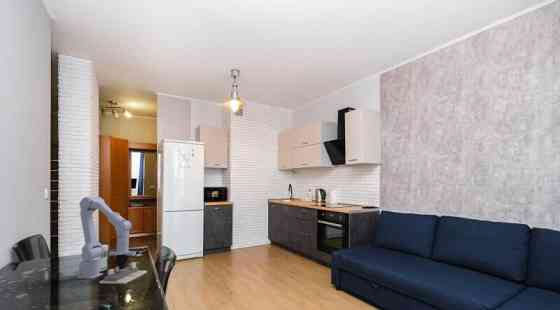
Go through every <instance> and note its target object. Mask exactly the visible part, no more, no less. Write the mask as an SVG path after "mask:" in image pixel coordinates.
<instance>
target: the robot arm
mask: <svg viewBox="0 0 560 310" xmlns="http://www.w3.org/2000/svg"><path fill="white" fill-rule="evenodd" d="M79 208H80V211H79V213H80V214H79V216H80V221H81V227H82V231H83V238H84V245H83V246H82V248H81V253H80V254H81V256H80V257H81V259H82V261H81V262H80V263H79V265H78V276H77V277H76V278H77V279H82V280H83V279H90V280H91V279H95V278H97V277H100V276H102V275H104V273H103V272H102V273H100V272H99V270H100V259H101V256H102V255H103V254H104V249H103V248H102V246H101V245H102V243H101V242H99V240H98V239H97V234H96V228H95V223H94V217H93V214H94V212H96V211H97V210H99V211H100V212H101V213H102V214H104V215H105V216H106V217H107V221H108V222H109V223H111V224H112V226H114V230H115V231H116V236H117V237H116V251H115V250H114V251H108V257H110V256H115V257H114V258H115V260H116V262H117V265H118V266H119V269H120V270H122V269H124V268H125V266H126V262H127V260H129V258H130V256H132V257H134V256H136V255H137V251H134V250H129V246H130V245H129V244H130V243H129V242H130V231H131V229H132V227H133V225H132V224H133V223H132V222H131V221H130V220H126V219H125V218H123V217H122V216H121V215H120V212H114V211H113V210H112V209H111V208H110V207H109V206H108V205H107V204H106V202H105V199H103V198H102V197H101V196H84V197H83V198H82V199H81V200H80V202H79Z"/></svg>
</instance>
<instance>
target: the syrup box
mask: <svg viewBox="0 0 560 310" xmlns="http://www.w3.org/2000/svg"><path fill="white" fill-rule="evenodd" d="M101 246H102V248H103V249H104V254H103V255H102V256H101V259H100V270H99V273H100V272H103V271H106V270H108V267H109V266H108V263H109V262H108V261H109V260H108V259H109V244H101Z"/></svg>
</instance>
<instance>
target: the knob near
mask: <svg viewBox="0 0 560 310" xmlns="http://www.w3.org/2000/svg"><path fill="white" fill-rule="evenodd" d="M115 271H116V268H110V269H107V276H108V275H112V274H114V273H115Z"/></svg>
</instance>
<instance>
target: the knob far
mask: <svg viewBox="0 0 560 310" xmlns="http://www.w3.org/2000/svg"><path fill="white" fill-rule="evenodd" d="M129 267H130V269H133V268H135V267H137V263H136V262H132V263H130V264H129Z"/></svg>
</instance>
